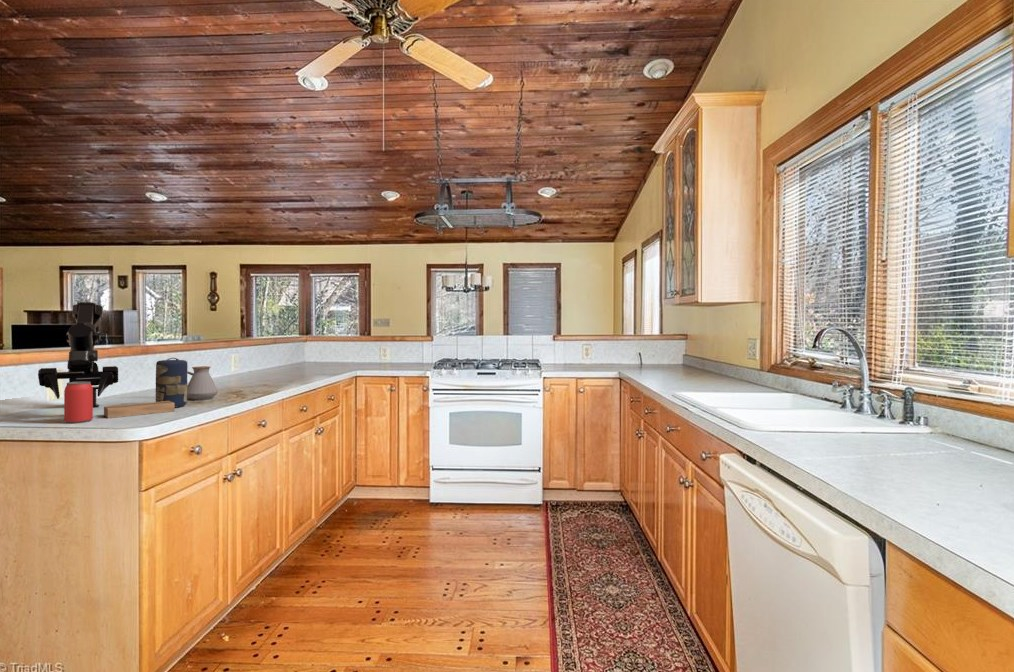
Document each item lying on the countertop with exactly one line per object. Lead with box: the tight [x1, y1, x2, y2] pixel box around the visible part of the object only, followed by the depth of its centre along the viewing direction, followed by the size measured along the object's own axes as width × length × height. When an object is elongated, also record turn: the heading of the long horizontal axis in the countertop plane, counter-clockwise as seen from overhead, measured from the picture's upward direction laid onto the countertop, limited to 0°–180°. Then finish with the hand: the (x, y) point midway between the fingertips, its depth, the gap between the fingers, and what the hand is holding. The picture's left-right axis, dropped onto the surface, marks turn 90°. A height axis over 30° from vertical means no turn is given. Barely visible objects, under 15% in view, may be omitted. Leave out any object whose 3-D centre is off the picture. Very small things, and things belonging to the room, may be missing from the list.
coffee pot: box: [187, 366, 218, 401], centre depth 194 cm, size 21×12×15 cm, turn 98°
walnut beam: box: [103, 401, 176, 419], centre depth 162 cm, size 6×18×3 cm, turn 139°
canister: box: [155, 357, 188, 408], centre depth 175 cm, size 10×10×18 cm
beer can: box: [63, 381, 94, 424], centre depth 148 cm, size 7×7×12 cm
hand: (78, 396), depth 147 cm, fingers open, 9 cm apart
